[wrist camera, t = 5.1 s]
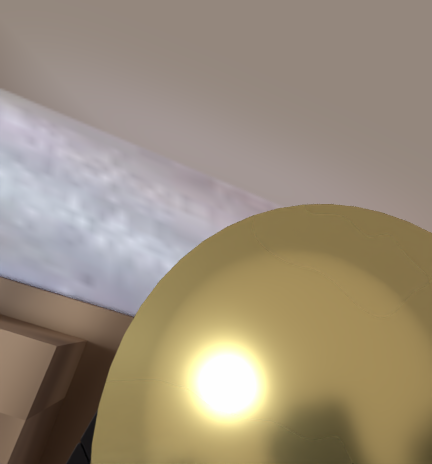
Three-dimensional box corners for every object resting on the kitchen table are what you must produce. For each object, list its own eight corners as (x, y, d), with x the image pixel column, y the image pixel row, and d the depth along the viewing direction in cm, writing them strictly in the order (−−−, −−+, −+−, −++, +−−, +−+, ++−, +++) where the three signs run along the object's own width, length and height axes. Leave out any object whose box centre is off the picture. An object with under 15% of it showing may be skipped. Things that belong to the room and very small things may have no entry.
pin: (293, 307, 15) (584, 270, 4) (270, 422, 14) (651, 950, 2) (194, 278, 15) (186, 156, 4) (160, 388, 14) (-19, 722, 2)
